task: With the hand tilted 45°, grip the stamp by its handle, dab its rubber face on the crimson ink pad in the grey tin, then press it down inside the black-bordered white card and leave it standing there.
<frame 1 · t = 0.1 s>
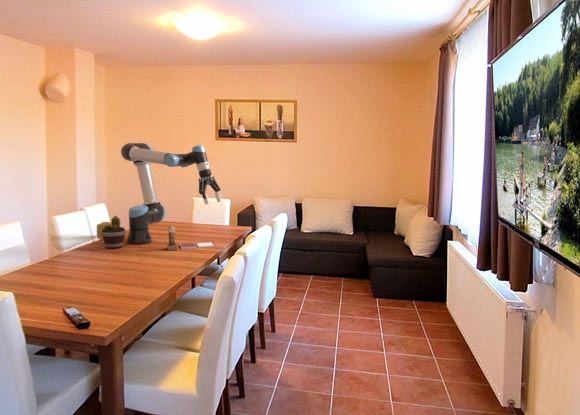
hand: (213, 203, 276), 28 cm above the table, tool tilted 20°, fingers open, 13 cm apart
stamp: (172, 249, 271), on the table
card: (205, 245, 283), on the table
ink pad: (188, 246, 278), on the table
cheese: (107, 238, 300), on the table
flowerpot: (114, 247, 274), on the table
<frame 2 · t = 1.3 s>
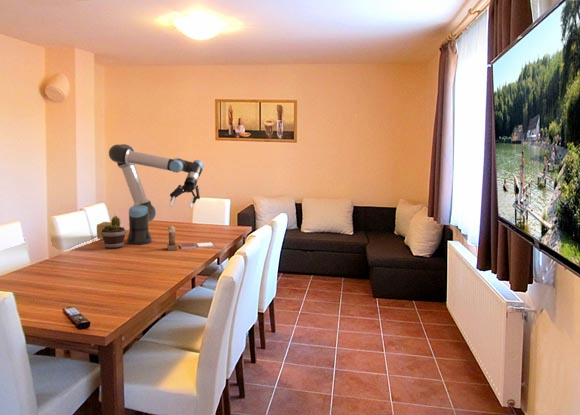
hand: (180, 206, 277), 25 cm above the table, tool tilted 45°, fingers open, 13 cm apart
nothing on the table moved.
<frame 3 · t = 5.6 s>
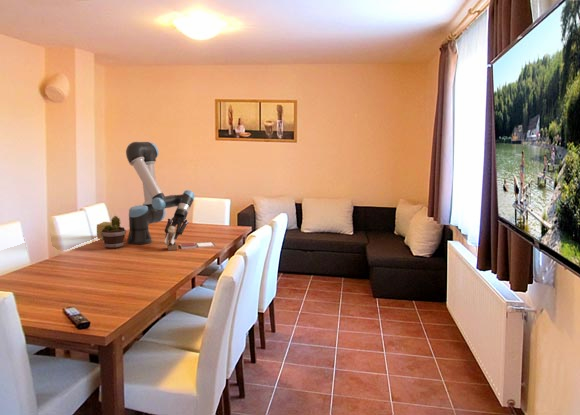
hand: (168, 243, 266), 5 cm above the table, tool tilted 45°, fingers closed on stamp, 3 cm apart
stamp: (172, 249, 271), on the table, touching gripper
everything else where it was.
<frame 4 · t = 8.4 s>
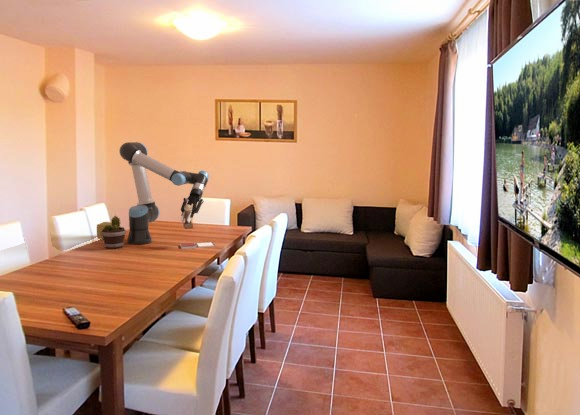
hand: (185, 221, 272), 17 cm above the table, tool tilted 45°, fingers closed on stamp, 3 cm apart
stamp: (188, 227, 276), point 12 cm above the table, touching gripper
everything else where it was.
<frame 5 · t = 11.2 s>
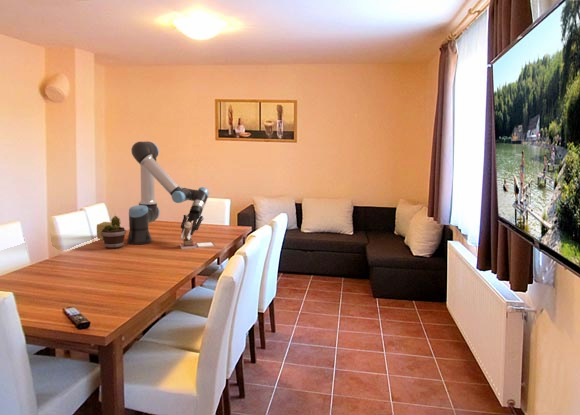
hand: (185, 238, 273), 6 cm above the table, tool tilted 45°, fingers closed on stamp, 4 cm apart
stamp: (188, 244, 278), point 1 cm above the table, touching gripper, ink pad
everything else where it was.
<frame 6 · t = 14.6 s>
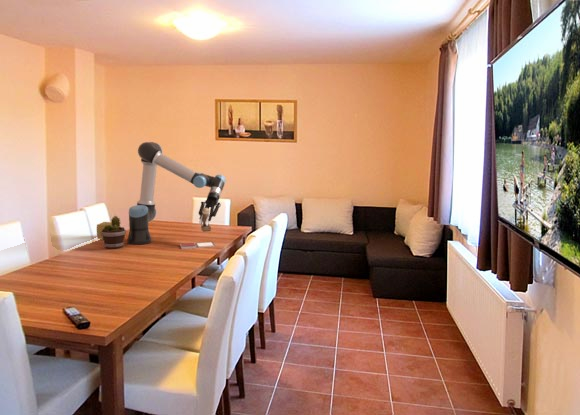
hand: (203, 224, 278), 14 cm above the table, tool tilted 45°, fingers closed on stamp, 3 cm apart
stamp: (206, 230, 282), point 10 cm above the table, touching gripper
everything else where it was.
when the fingers open (5 cm above the table, at t = 16.9 s): stamp stays where it is, resting on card.
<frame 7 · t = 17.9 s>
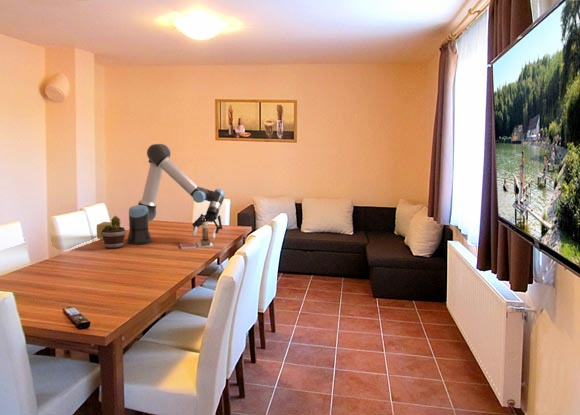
hand: (203, 236, 280), 6 cm above the table, tool tilted 45°, fingers open, 13 cm apart
stamp: (205, 244, 283), resting on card
everything else where it was.
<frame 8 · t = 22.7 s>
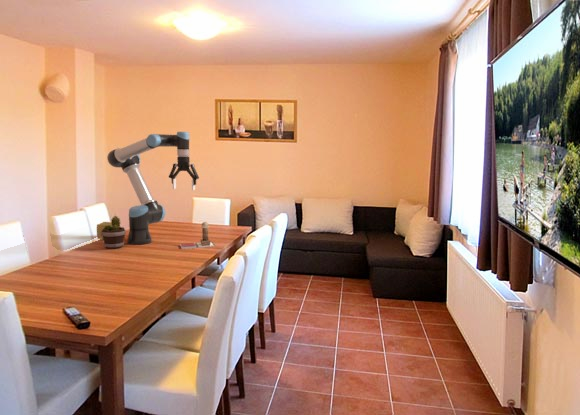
hand: (183, 189, 285), 35 cm above the table, tool pointing down, fingers open, 13 cm apart
nothing on the table moved.
at the end: stamp 0.2 cm off-centre on the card, point 0.4 cm above the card's base; stamp tilted 0°; the gripper is holding nothing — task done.
